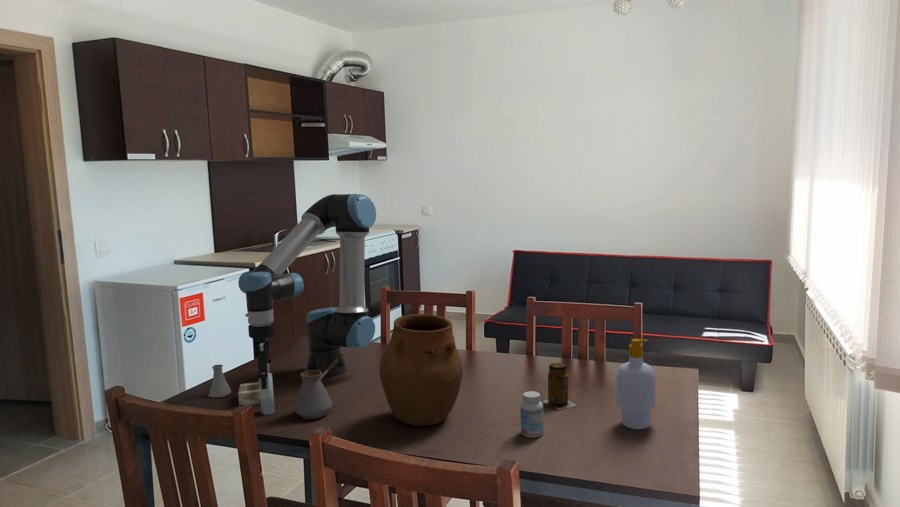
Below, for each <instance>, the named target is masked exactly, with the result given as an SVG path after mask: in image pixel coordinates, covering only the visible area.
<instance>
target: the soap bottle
mask: <svg viewBox="0 0 900 507" xmlns="http://www.w3.org/2000/svg"><path fill="white" fill-rule="evenodd" d="M648 341H649V339H640V338H632V339H631V342H630V344H629V345H628V354H629V355H628V361H627V362H624V363H622V364H621V365H620V366H619V369H618V370H617V372H616V374H617V375H616V405H617V407H619V408H620V409H621V423H622V425H623V426H624V427H626V428H628V429H631V430H645V429H648V428H649V427H650V426H651V411H652V410H654V409H655V408H656V386H657V385H656V380H657V379H656V373H655V371H654V369H653V368H652V367H651V365H650V364H648V363H645V362H644V345H643V344H641V343H643V342H644V343H646V342H648Z"/></svg>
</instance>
